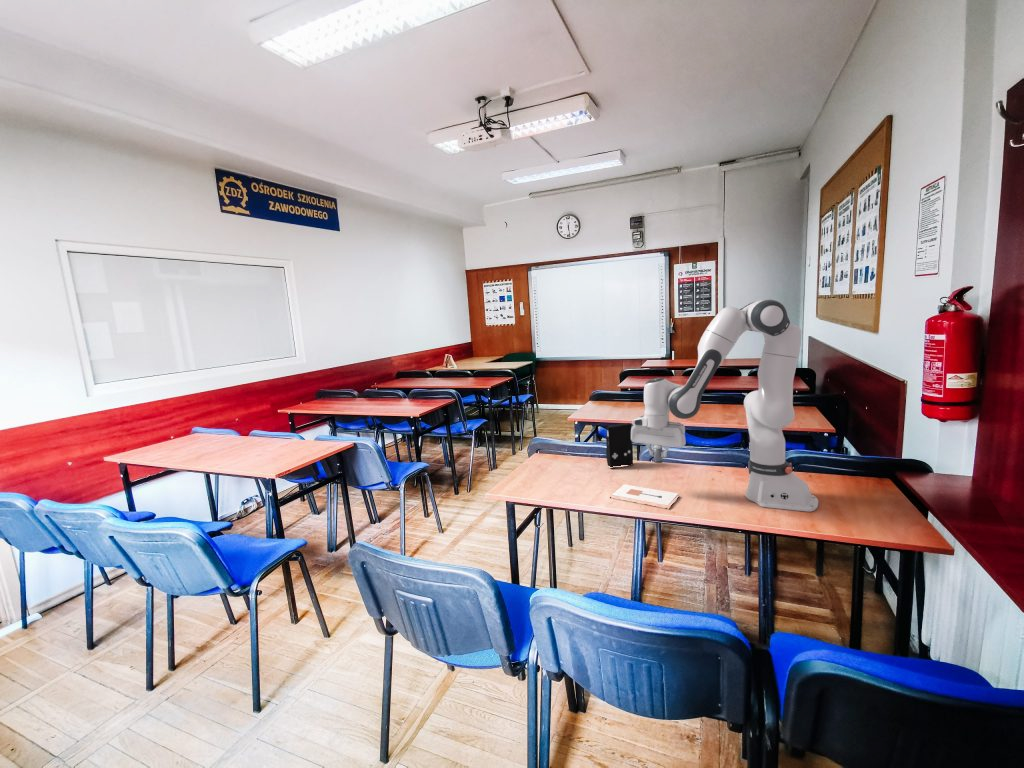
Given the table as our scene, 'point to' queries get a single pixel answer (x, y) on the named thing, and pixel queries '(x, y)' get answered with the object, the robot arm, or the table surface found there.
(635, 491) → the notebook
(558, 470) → the table surface
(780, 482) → the robot arm
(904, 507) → the table surface
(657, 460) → the white-topped grey cylinder
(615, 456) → the handheld gaming console
